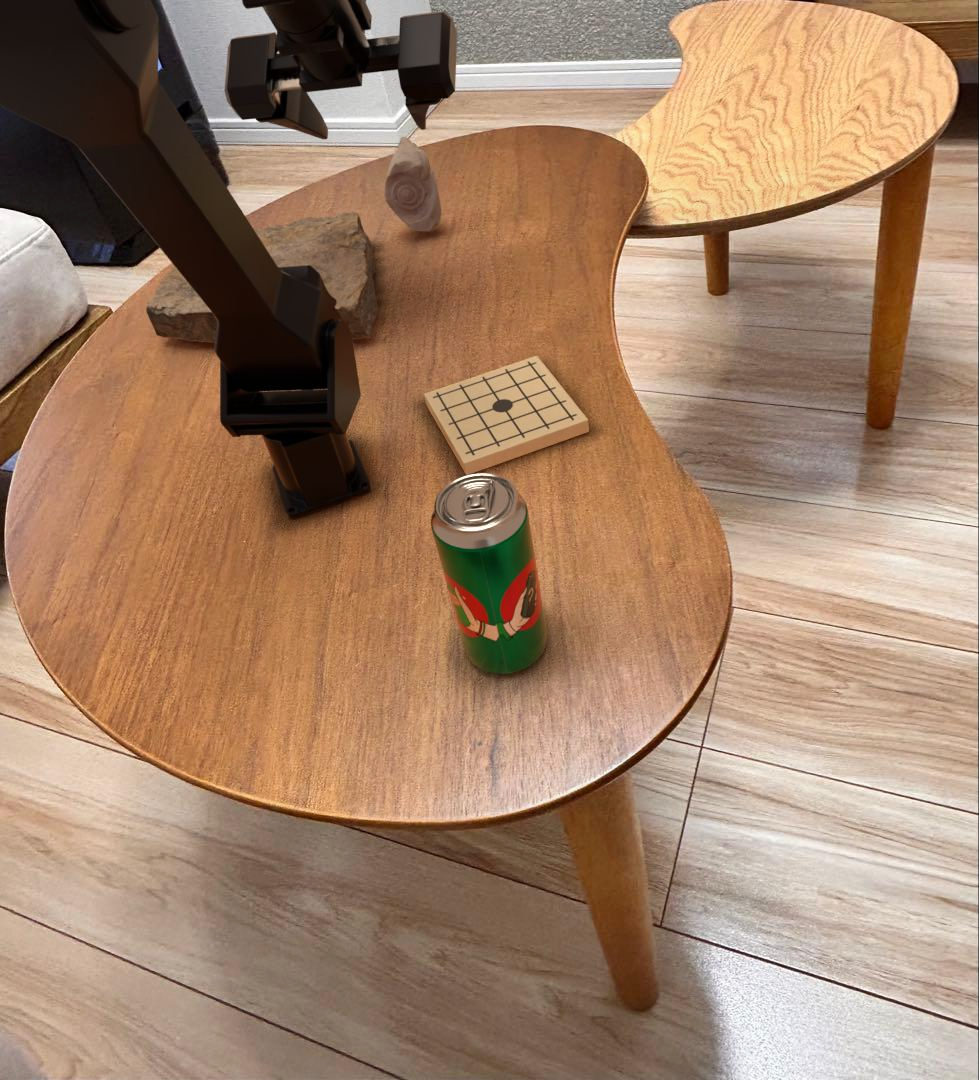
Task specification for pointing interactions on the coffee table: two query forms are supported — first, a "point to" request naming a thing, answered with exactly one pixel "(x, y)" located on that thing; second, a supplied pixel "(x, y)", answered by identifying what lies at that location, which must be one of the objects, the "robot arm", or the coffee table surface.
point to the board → (505, 414)
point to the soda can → (490, 571)
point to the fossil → (413, 188)
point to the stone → (308, 241)
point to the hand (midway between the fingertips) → (374, 129)
